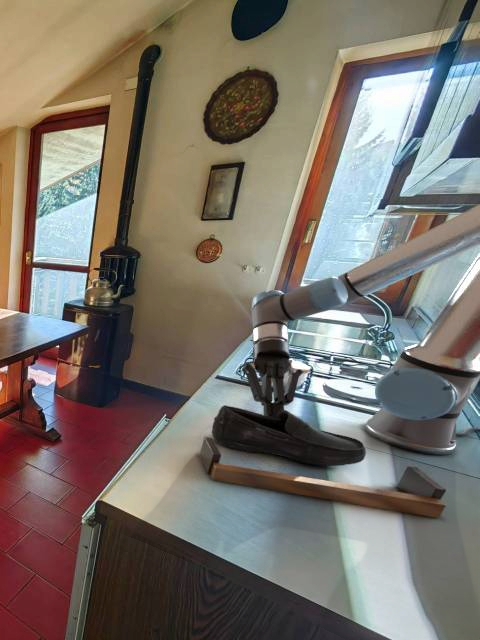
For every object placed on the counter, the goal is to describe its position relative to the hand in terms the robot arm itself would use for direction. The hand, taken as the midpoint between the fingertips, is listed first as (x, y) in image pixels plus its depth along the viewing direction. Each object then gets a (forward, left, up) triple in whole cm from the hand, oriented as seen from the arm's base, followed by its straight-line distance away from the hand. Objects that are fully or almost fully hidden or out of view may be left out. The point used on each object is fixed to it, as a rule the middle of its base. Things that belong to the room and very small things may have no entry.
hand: (274, 429), depth 95 cm
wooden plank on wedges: (0, +18, -3) cm, 18 cm away
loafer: (0, +6, -3) cm, 7 cm away
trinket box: (-17, -42, -3) cm, 45 cm away
